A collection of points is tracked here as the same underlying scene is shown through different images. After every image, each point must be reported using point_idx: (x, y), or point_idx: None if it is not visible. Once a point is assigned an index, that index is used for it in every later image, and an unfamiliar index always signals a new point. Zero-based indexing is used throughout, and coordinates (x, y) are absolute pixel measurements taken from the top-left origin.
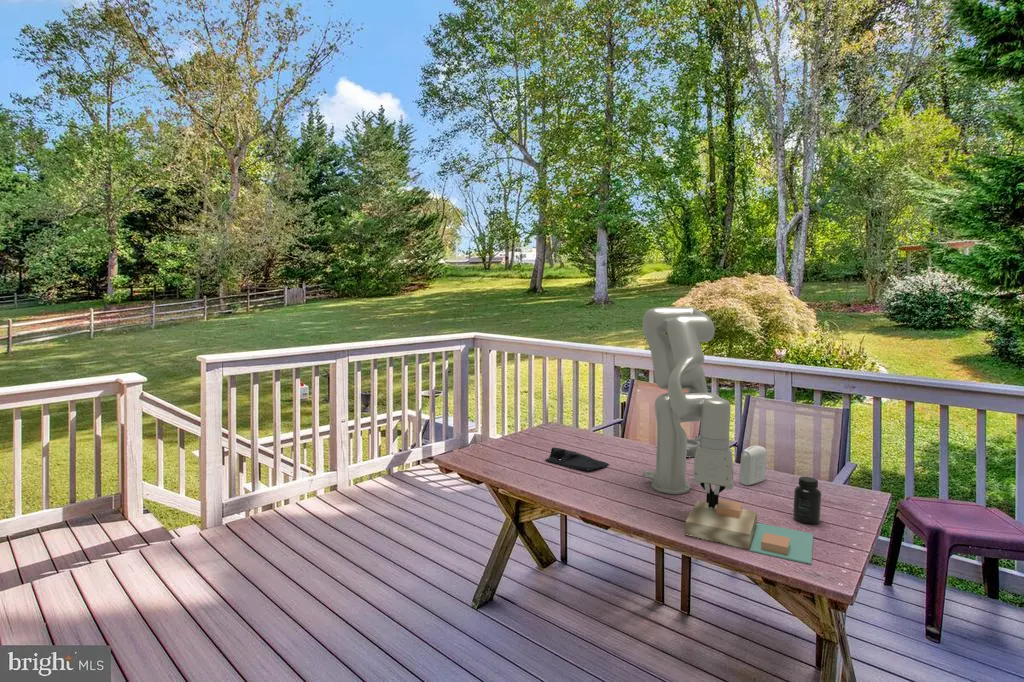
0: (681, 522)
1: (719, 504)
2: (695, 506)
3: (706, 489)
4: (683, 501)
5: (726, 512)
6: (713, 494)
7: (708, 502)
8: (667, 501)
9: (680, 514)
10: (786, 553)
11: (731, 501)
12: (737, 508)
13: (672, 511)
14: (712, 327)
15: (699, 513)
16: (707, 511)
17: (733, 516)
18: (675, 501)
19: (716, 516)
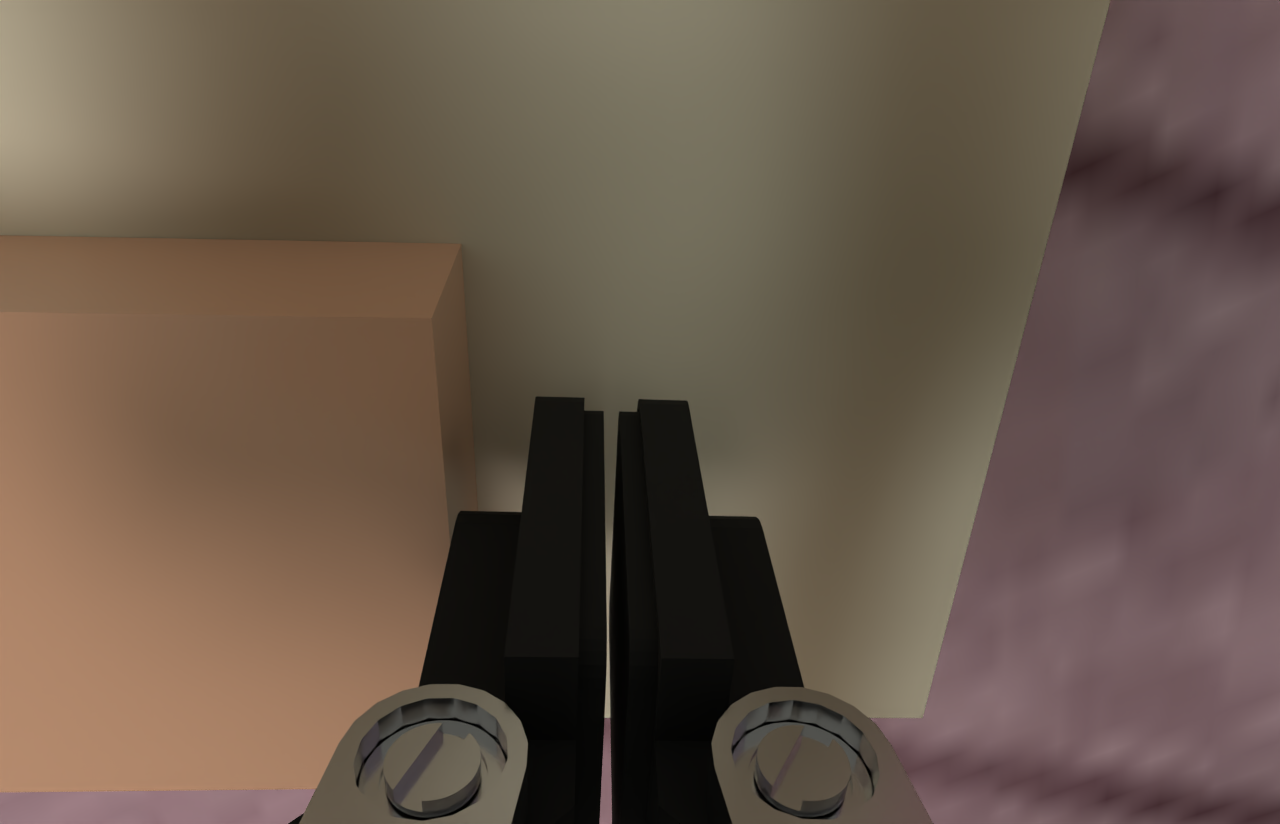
0: (1130, 87)
1: (398, 510)
2: (972, 438)
3: (863, 812)
4: (1051, 812)
5: (170, 267)
6: (548, 672)
7: (694, 458)
8: (1275, 736)
9: (1122, 416)
10: None
11: (200, 783)
12: None
13: (1245, 467)
14: None
15: (871, 52)
16: (684, 284)
17: (16, 238)
18: (1160, 775)
19: (411, 57)
